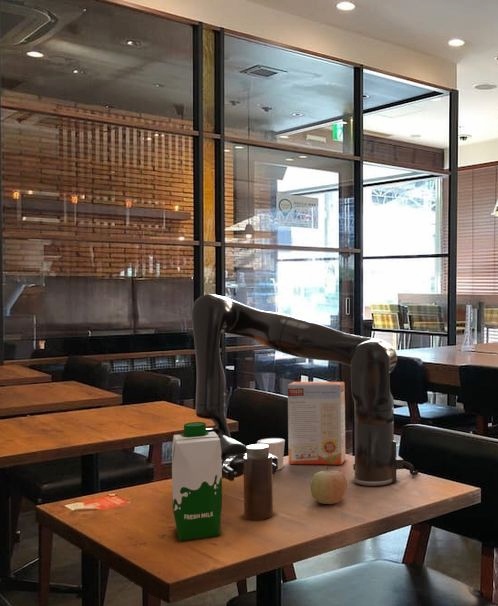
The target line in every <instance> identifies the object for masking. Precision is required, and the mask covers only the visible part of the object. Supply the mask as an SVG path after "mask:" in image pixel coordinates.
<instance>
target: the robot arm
mask: <svg viewBox="0 0 498 606" xmlns="http://www.w3.org/2000/svg"><path fill="white" fill-rule="evenodd" d="M191 325H192V333H193V341H194V343H193V344H194V352H195V353H194V355H195V365H196V367H195V368H196V386H195V387H196V388H195V389H196V390H195V408H194V409H195V411H194V412H195V416H196V417H198V418H200V419H205V420H210V421H212V422H213V424H214V427H210V428H209V427H206V432H215V433H216V434H217V435H218V437H219V439H220V445H221V451H222V455H221V461H222V479H224V480H228V481H229V482H233V481H235V479H236V478H239V477H241V476H244V456H246V455H247V445H245V444H243V443H242V442H240V441H238V440H236V439H234V438H232V436H231V432H230V428H229V424H228V418H227V413H226V401H227V382H226V374H225V371H224V368H223V367H224V366H223V363H222V358H221V351H220V343H221V334H228V335H234V336H239V337H245V338H249V339H251V340H254V341H255V342H258V343H260V344H262V345H263V346H265V347H267V348H268V349H269V348H270V349H271V350H274V351H276V352H279V353H281V354H286V355H289V356H292V357H297V358H300V359H305V360H306V359H307V360H314V361H315V360H316V361H325V362H335V363H339V364H344V365H346V366H349V367H350V385H351V388H350V389H351V397H352V400H353V405H354V406H353V407H354V408H353V409H354V411H353V412H354V413H353V414H354V463H353V466H352V467H353V468H352V471H354V478H353V481H354V483H355V484H357V485H361V486H365V487H379V486H386V485H390V484H392V483H393V484H394V483H397V470H404V466H405V467H407V468H409V474H410V475H411V476H413V477H414V476H418V475H419V470H415V469H414V465H413V464H411V463H410V462H408V461H404V459H403V458H402V457H401V456H400V455H397V442H396V440H395V432H394V431H395V420H394V419H395V417H394V415H395V414H394V413H395V412H394V411H395V410H394V409H395V408H394V407H395V406H394V404H395V403H394V402H395V401H394V396H393V395H392V392H391V381H390V376H391V375H390V373H392V372H393V371H394V370H395V368H396V366H397V363H398V354H397V352H396V350H395V348H394V347H393V346H392V344H390V343H389V342H388V341H386V340H385V339H384V340H383V339H380V338H374V337H373V338H372V337H366V336H360V335H355V334H350V333H346V332H343V331H340V330H337V329H334V328H332V327H330V326H327V325H323V324H321V323H317V322H315V321H311V320H308V319H304V318H302V317H298V316H294V315H290V314H286V313H280V312H273V311H265V310H261V309H257V308H255V307H251V306H248V305H245V304H243V303H241V302H238V301H237V300H233V299H231V298H229V297H227V296H222V295H218V294H211V293H207V294H203V295H201V296H199V297H198V298H197V299H196V300H194V302H193V304H192V306H191ZM269 454H270V453H269ZM271 455H272V454H271ZM276 469H278V457H276V456H274V455H272V476H274V475H275V474H276V473H277V470H276Z"/></svg>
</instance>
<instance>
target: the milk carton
mask: <svg viewBox="0 0 498 606" xmlns="http://www.w3.org/2000/svg"><path fill="white" fill-rule="evenodd" d="M206 428H207V423H206V422H203V421H193V422H187V423H184V424H183V433H180V434H173V437H172V445H171V460H172V461H171V497H172V498H171V499H172V500H171V501H172V512H173V517H174V522H175V527H176V528H175V529H176V532H177V536H178V539H179V542H182V541H190V540H197V539H204V538H211V537H218V536H220V531H221V520H222V508H223V478H222V461H221V455H222V451H221V445H220V439H219V437H218V435H217V434H216V433H215V432H206Z"/></svg>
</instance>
